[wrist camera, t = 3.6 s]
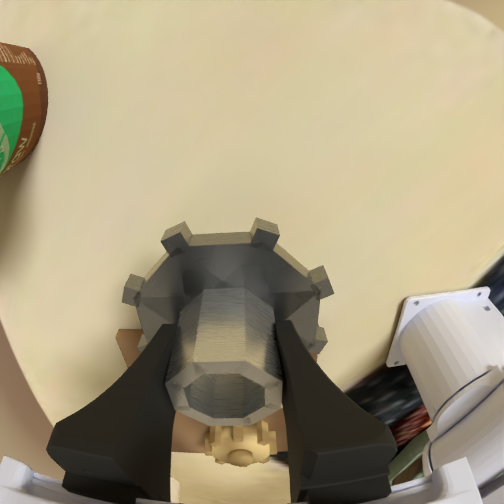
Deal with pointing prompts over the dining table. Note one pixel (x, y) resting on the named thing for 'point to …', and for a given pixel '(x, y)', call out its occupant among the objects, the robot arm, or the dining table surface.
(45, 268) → the dining table surface
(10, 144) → the food container
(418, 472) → the tea set
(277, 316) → the planet gear
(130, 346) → the carrier board
